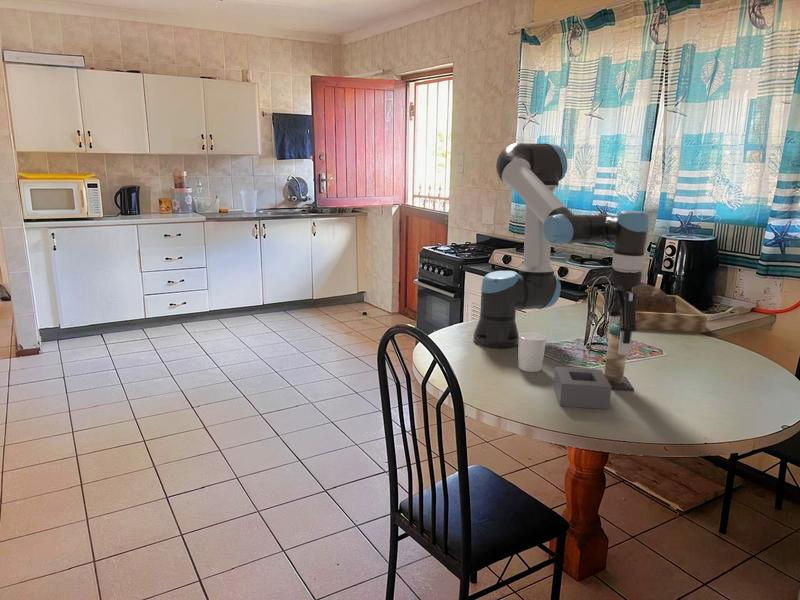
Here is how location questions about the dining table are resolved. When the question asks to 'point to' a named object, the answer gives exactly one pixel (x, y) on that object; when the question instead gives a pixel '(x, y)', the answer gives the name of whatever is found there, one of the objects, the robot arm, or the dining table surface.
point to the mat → (623, 385)
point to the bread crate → (667, 317)
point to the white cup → (531, 351)
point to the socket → (582, 388)
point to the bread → (652, 300)
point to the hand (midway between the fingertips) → (617, 346)
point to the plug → (614, 357)
